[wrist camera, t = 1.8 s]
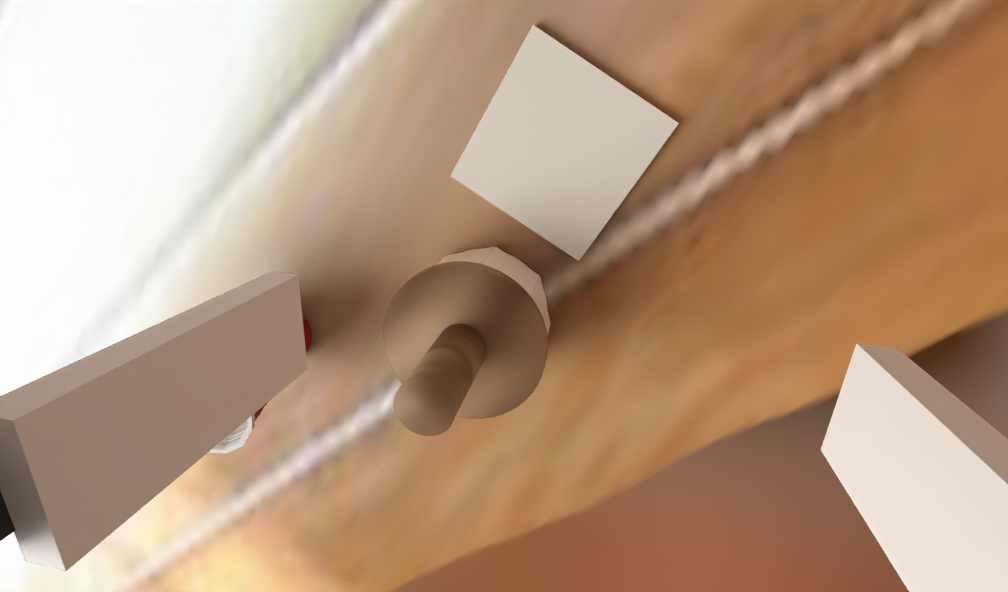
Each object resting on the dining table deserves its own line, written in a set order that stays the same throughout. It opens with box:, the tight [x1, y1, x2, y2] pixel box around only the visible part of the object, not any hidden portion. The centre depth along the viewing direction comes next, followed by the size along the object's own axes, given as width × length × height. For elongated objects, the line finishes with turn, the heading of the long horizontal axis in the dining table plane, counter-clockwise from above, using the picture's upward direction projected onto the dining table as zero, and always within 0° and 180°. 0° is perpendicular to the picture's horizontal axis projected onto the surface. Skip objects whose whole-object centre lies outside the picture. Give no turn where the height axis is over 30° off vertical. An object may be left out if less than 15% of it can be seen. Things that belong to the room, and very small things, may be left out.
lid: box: [383, 261, 548, 436], centre depth 32 cm, size 12×12×9 cm
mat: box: [451, 25, 679, 261], centre depth 37 cm, size 12×12×1 cm
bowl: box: [436, 246, 551, 335], centre depth 39 cm, size 10×10×6 cm
